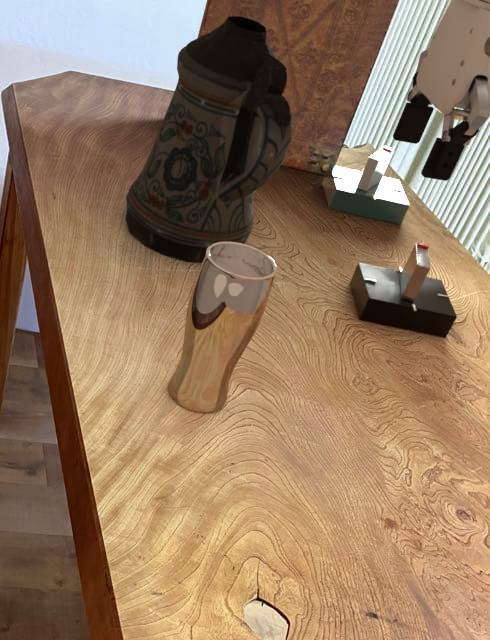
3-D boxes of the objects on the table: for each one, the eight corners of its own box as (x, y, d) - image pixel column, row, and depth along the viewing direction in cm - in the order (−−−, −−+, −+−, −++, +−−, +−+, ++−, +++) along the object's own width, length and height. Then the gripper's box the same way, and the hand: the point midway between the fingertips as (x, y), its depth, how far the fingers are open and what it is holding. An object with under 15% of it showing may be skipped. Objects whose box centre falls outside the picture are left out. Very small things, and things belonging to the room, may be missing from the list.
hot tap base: (360, 323, 107) (370, 300, 105) (348, 280, 115) (358, 257, 113) (447, 341, 108) (459, 319, 106) (429, 297, 116) (440, 275, 114)
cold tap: (366, 191, 129) (379, 159, 126) (356, 187, 130) (369, 154, 126) (381, 180, 133) (394, 148, 130) (371, 176, 134) (384, 144, 131)
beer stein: (162, 191, 124) (213, -12, 106) (285, 249, 118) (360, 44, 100) (97, 224, 113) (142, 4, 95) (229, 290, 107) (302, 69, 90)
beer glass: (229, 382, 93) (277, 249, 83) (230, 422, 88) (281, 286, 78) (164, 368, 93) (204, 233, 82) (161, 407, 88) (204, 269, 77)
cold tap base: (329, 211, 129) (338, 190, 127) (321, 181, 137) (329, 160, 135) (402, 227, 130) (411, 206, 128) (389, 196, 138) (398, 176, 136)
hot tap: (413, 302, 107) (431, 266, 104) (400, 298, 107) (418, 262, 104) (412, 278, 112) (429, 243, 108) (400, 274, 112) (417, 239, 108)
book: (172, 138, 138) (230, -92, 117) (176, 118, 145) (231, -104, 124) (331, 177, 139) (416, -45, 118) (328, 155, 145) (408, -59, 124)
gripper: (569, 21, 83) (478, 198, 95) (495, -31, 95) (423, 133, 107) (496, 6, 81) (413, 188, 93) (431, -44, 93) (365, 123, 105)
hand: (419, 158), depth 100 cm, fingers open, 9 cm apart
